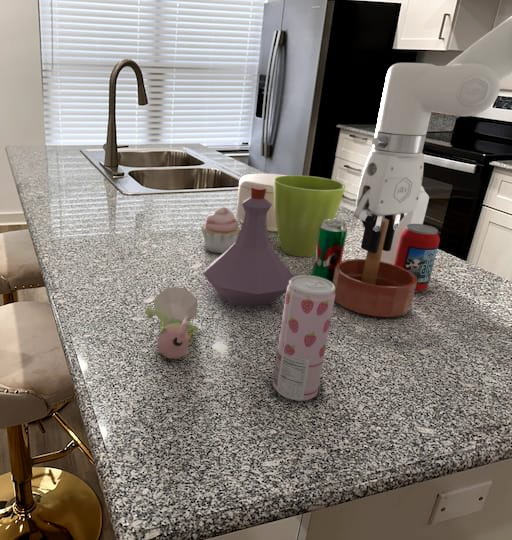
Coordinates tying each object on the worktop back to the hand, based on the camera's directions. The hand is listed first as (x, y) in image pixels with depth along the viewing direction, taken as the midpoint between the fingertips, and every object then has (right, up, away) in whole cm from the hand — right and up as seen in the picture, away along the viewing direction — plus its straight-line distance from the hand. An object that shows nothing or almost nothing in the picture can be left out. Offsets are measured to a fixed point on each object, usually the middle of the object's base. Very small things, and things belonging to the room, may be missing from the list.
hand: (375, 249), depth 91 cm
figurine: (-37, -15, -14) cm, 42 cm away
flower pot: (-6, 0, +26) cm, 27 cm away
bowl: (0, -10, +2) cm, 10 cm away
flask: (-22, -9, +2) cm, 24 cm away
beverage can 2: (+10, -7, +9) cm, 16 cm away
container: (-8, +9, +47) cm, 48 cm away
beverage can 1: (-21, -19, -24) cm, 37 cm away
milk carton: (+12, -2, +21) cm, 25 cm away
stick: (0, -7, +3) cm, 8 cm away
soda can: (-6, -6, +10) cm, 13 cm away
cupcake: (-24, +1, +26) cm, 35 cm away
